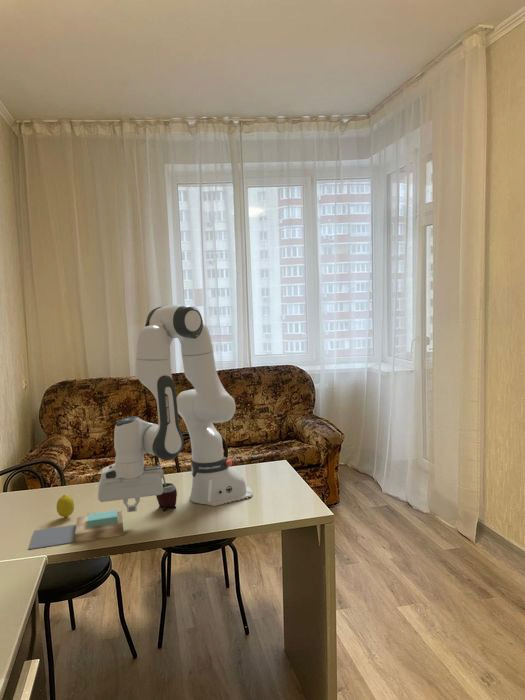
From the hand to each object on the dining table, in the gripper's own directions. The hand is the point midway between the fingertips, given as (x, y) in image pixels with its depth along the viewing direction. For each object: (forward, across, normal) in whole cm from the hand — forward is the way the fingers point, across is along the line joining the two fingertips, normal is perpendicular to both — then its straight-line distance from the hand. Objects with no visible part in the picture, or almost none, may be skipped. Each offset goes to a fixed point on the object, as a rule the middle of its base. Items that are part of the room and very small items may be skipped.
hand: (131, 511), depth 172 cm
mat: (+5, +24, -1) cm, 24 cm away
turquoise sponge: (+2, +9, 0) cm, 9 cm away
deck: (+5, +10, 0) cm, 11 cm away
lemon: (+5, +21, -16) cm, 27 cm away
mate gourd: (+4, -12, -11) cm, 17 cm away
